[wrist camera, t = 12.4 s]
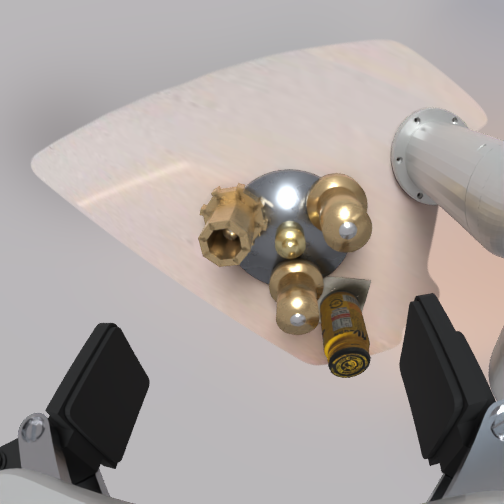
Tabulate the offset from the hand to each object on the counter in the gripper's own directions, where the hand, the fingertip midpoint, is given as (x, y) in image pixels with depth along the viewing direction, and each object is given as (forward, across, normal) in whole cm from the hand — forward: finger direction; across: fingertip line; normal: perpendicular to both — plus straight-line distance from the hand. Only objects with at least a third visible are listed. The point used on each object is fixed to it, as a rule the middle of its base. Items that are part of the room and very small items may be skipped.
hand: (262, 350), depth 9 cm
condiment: (+31, -6, +22) cm, 38 cm away
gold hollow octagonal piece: (+29, +6, +6) cm, 30 cm away
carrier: (+30, -1, +11) cm, 32 cm away
